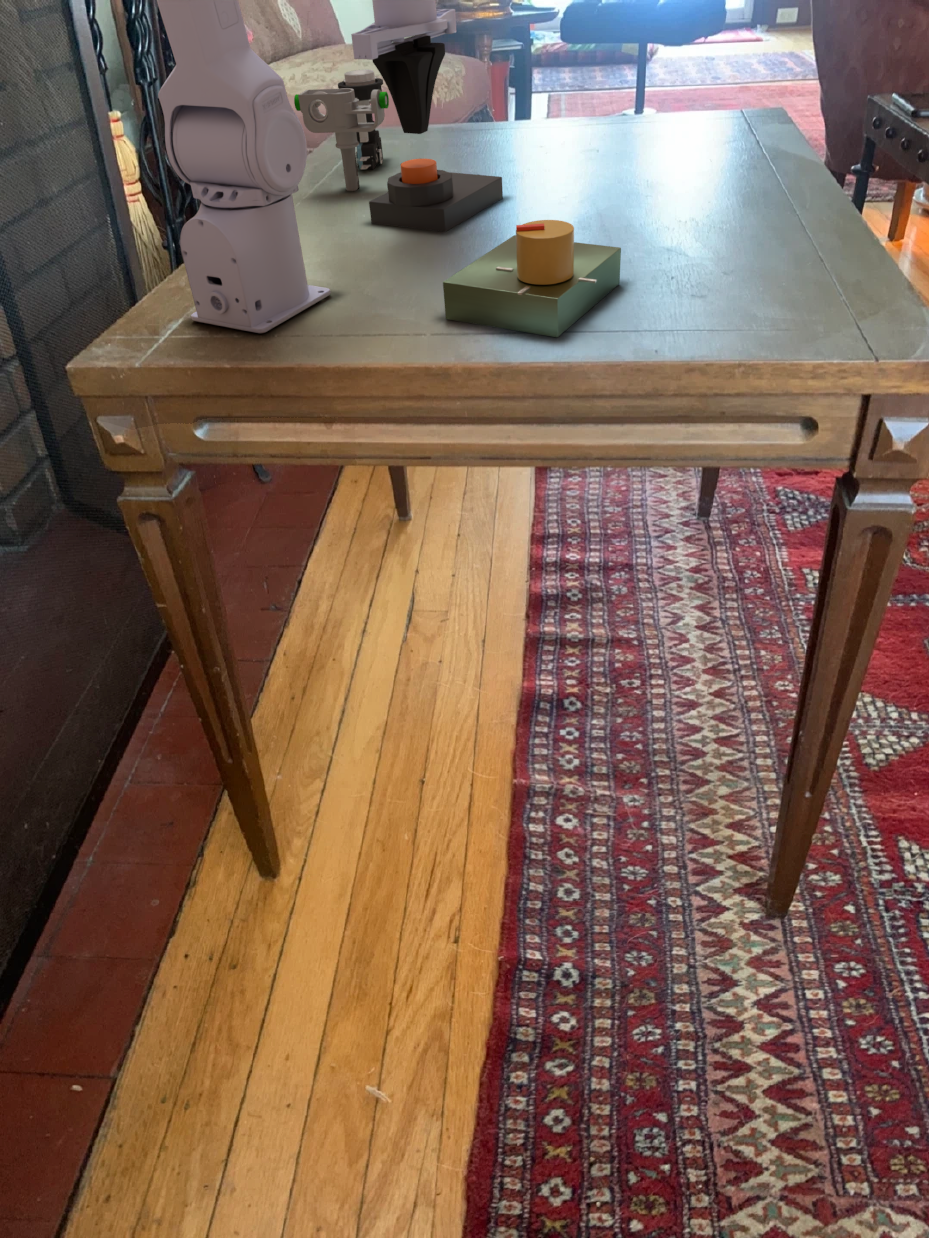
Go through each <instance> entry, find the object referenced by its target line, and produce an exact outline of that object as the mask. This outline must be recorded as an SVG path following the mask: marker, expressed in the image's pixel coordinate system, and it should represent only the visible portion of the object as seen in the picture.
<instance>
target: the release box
mask: <svg viewBox="0 0 929 1238" xmlns="http://www.w3.org/2000/svg"><path fill="white" fill-rule="evenodd" d="M437 177H438V180H436V181H432V182H428V183H421V184H408V183H402V175H401V172H398V173H396V174H393V175H391V176H390V177H388V178H387V182H386V186H387V191H386V192H385V193H383V194H381V195H379V196H377V197H375V198H373V199H371V200H369V201H368V207H369V214H370V223H371V224H374V225H375V224H376V225H384V226H393V227H402V228H409V229H418V230H427V231H435V232H443V233H444V232H448V231H449V230H451V229H453V228H455V227H456V226H458V225H460V224H461V223H463V222H464V221H467V220H468V219H470V218H472V217H473V216H475V215H477V214H478V213H480V212H482V211H483V210H486V208H489V207H490V206H492V205H494V204H495V203H497V202H498V201H500V200H501V199H503V197H504V196H503V195H504V194H503V177H502V176H498V175H496V176H495V175H484V174H472V173H462V172H451V171H445V170H443V169H437Z"/></svg>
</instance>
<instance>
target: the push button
mask: <svg viewBox="0 0 929 1238" xmlns="http://www.w3.org/2000/svg"><path fill="white" fill-rule="evenodd" d="M343 77H344V79H343V80H342V81H340V82H338V83H337V89H341V88H350V89H354V94H355V98H357V99H359V103H358V106H367V105H371V104H369V100H371V93H372V91H373V90H381V92H383V90H382V85H384V79H383V78H379V77H377V76H376V75H375V70H374V69H365V68H364V69H354V70H349V71H346V72H344V73H343ZM357 119H358V123H375V120H374V117H373V113H370V114H357ZM356 134H357V141H358V142H359V145H358V146H357V147H356V151H355V154H356V161H357V166H358V168H359V170H360V171H362V170H364V171H365V170H374V169H375V168H376V166H377V165H378V163H379V164H380V165H382V164H383V161H384V155H383V154H384V153H383V144H382V143H383V142H382V137H381V136H380V131H379V130H378V129H374V130H373V131H371V132H356Z"/></svg>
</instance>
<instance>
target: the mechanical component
mask: <svg viewBox="0 0 929 1238" xmlns="http://www.w3.org/2000/svg"><path fill="white" fill-rule="evenodd" d="M358 103H359V99H357V98H355V94H354V89H350V88H341V89H339V88H321V89H320V88H319V89H318V88H317V89H305V90H303V91H302V92H300V93H298V94H297V93H296V94H294V99H293V104H294V107H295V110H296V111H297V112H300V113H301V114H302V120H303V124H304V127H305V128H306V130H308V131H309V132H311V133H313V134H328V133H329V134H332V133H333V134H335V147H336V149H339V150H340V153H341V161H342V168H343V176H344V183H345V189H346V191H348V192H355V191H358V188H359V189H360V178H359V177H360V176H359V170H358V165H357V159H356V148H357V146H358V145H359V142H358V141H357V134H356V132H371V131H373V130H374V129H375V130H377V128H378V127H380V126H381V124H382V123H383V122H384V121H385V116H386V115H385V109H388V108H389V105H390V99H389V94H388V92H387V91H382V92H381V90H373V91H372V93H371V100H369V104H370V105H367V106H358ZM321 105H323V106H324V109H325V114H323V113H322V112H321V111H320V110H319V107H321ZM370 113H372V114H374V122H375V123H358V119H357V114H370Z"/></svg>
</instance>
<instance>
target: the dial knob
mask: <svg viewBox="0 0 929 1238" xmlns="http://www.w3.org/2000/svg"><path fill="white" fill-rule="evenodd" d="M515 235H516V254H517V277H518V279H519V280H521V281H523V282H525V283H529V284H535V285H549V284H556V283H561V282H564V281H566V280H568V279H570V278H571V277H572V276H573V274H574V242H575V227H574V225H573V224H572V223H570V222H567V221H564V220H559V219H540V220H539V219H538V220H532V221H528V222H525V223H523V224H516V226H515Z"/></svg>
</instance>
